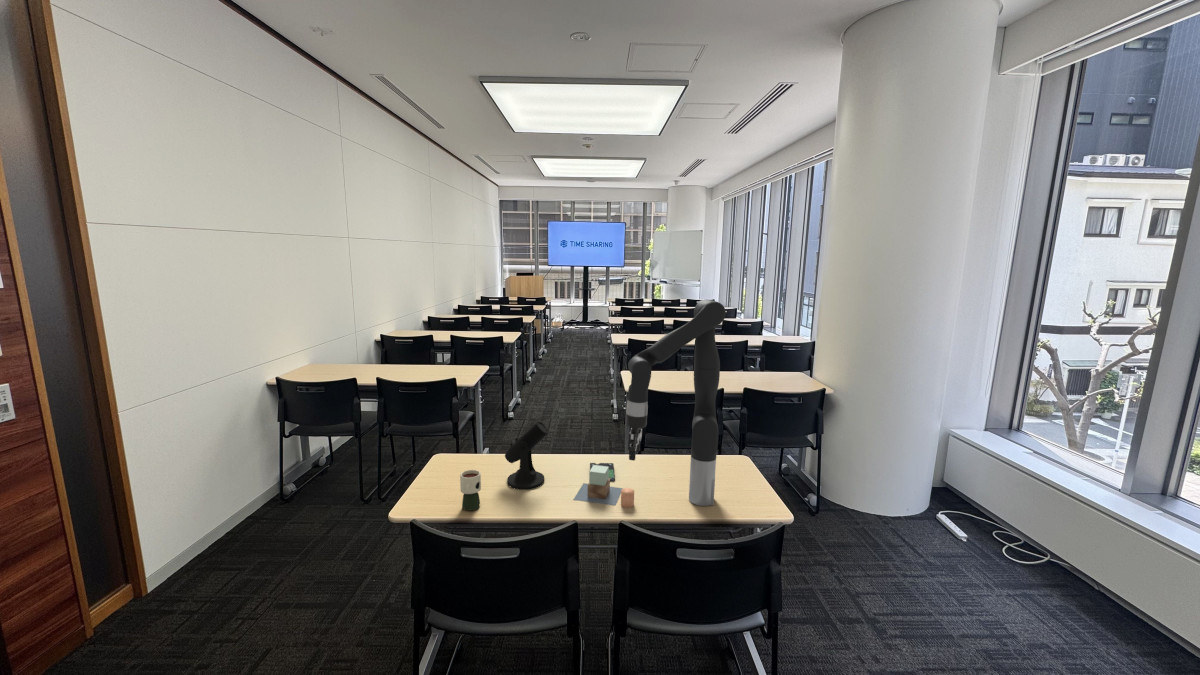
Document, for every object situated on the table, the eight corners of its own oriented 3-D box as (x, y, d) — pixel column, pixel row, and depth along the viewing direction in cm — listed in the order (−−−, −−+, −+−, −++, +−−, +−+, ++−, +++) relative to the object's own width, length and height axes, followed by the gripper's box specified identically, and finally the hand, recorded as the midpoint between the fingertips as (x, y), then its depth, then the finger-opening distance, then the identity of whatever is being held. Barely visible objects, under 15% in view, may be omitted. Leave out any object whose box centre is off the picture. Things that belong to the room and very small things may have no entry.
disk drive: (589, 468, 210) (589, 484, 195) (589, 462, 210) (589, 477, 195) (613, 468, 210) (615, 484, 196) (613, 462, 210) (615, 477, 195)
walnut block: (609, 490, 187) (610, 478, 186) (605, 499, 180) (605, 486, 180) (592, 488, 189) (592, 476, 188) (587, 496, 182) (587, 484, 181)
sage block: (608, 479, 186) (608, 466, 185) (604, 486, 180) (605, 473, 179) (593, 477, 187) (593, 464, 187) (589, 483, 182) (589, 471, 181)
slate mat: (622, 490, 190) (622, 488, 189) (615, 507, 176) (615, 505, 176) (583, 485, 193) (583, 483, 193) (573, 501, 180) (573, 499, 180)
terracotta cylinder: (634, 504, 179) (635, 489, 178) (632, 510, 174) (633, 495, 173) (622, 502, 180) (622, 487, 179) (619, 508, 175) (619, 493, 174)
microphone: (545, 490, 188) (545, 428, 184) (501, 489, 189) (500, 427, 185) (550, 473, 203) (550, 416, 199) (509, 472, 203) (508, 415, 199)
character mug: (478, 515, 169) (477, 480, 167) (457, 515, 169) (456, 480, 167) (483, 500, 180) (483, 467, 178) (464, 500, 179) (463, 467, 177)
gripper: (643, 420, 166) (641, 464, 168) (650, 408, 179) (647, 449, 182) (622, 417, 168) (619, 461, 170) (630, 405, 181) (628, 446, 184)
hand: (634, 455), depth 176 cm, fingers open, 8 cm apart
